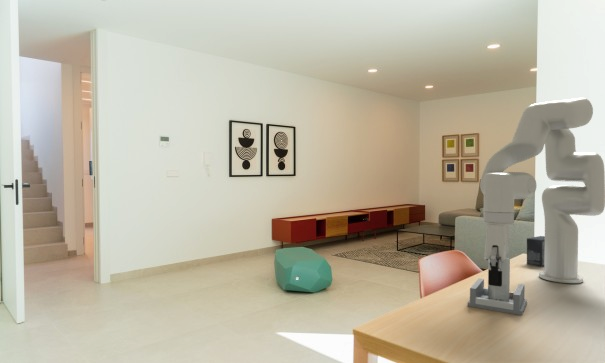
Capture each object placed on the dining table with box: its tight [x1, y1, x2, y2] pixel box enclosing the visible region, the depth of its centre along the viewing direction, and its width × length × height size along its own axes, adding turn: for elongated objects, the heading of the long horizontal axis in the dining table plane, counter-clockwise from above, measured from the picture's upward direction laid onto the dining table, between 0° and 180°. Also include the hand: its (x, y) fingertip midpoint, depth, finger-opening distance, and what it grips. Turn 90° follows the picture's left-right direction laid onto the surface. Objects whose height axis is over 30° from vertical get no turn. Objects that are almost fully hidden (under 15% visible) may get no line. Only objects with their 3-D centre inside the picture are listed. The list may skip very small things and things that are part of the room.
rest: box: [467, 278, 528, 316], centre depth 111 cm, size 12×13×5 cm
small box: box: [526, 235, 545, 268], centre depth 161 cm, size 11×6×10 cm, turn 122°
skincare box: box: [487, 257, 511, 302], centre depth 111 cm, size 6×4×12 cm
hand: (497, 281), depth 111 cm, fingers open, 8 cm apart
